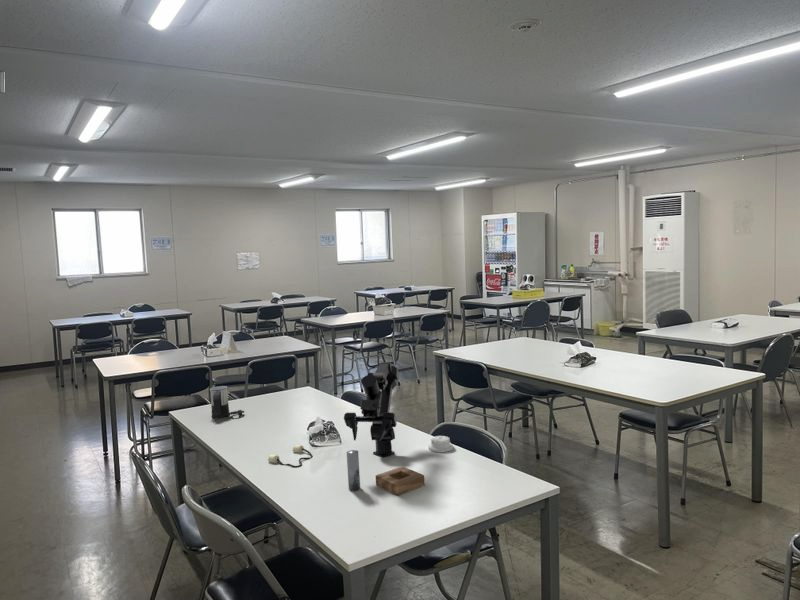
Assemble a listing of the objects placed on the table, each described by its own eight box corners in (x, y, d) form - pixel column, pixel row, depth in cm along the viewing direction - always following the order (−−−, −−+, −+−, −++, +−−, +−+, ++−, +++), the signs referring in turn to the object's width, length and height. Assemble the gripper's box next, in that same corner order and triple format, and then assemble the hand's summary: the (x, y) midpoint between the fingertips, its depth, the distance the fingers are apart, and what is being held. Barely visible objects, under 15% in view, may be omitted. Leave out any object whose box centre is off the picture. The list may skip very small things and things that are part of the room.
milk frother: (210, 414, 303) (208, 387, 302) (241, 410, 310) (239, 383, 308) (213, 421, 290) (211, 392, 289) (245, 416, 297) (243, 388, 295)
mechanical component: (425, 446, 239) (433, 454, 229) (424, 436, 238) (432, 443, 229) (448, 443, 241) (456, 451, 232) (447, 433, 241) (456, 440, 231)
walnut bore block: (376, 485, 201) (375, 475, 201) (402, 475, 208) (402, 466, 208) (397, 495, 192) (397, 485, 191) (424, 484, 199) (424, 475, 199)
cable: (324, 457, 233) (323, 448, 233) (294, 470, 220) (294, 461, 220) (296, 450, 242) (296, 442, 242) (267, 463, 229) (266, 454, 229)
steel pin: (346, 488, 199) (344, 452, 198) (356, 485, 202) (353, 449, 201) (353, 492, 196) (350, 455, 195) (362, 488, 199) (360, 451, 198)
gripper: (344, 390, 212) (336, 427, 201) (394, 390, 209) (389, 427, 198) (350, 408, 220) (343, 444, 209) (398, 408, 216) (394, 444, 205)
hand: (367, 440), depth 205 cm, fingers open, 9 cm apart
